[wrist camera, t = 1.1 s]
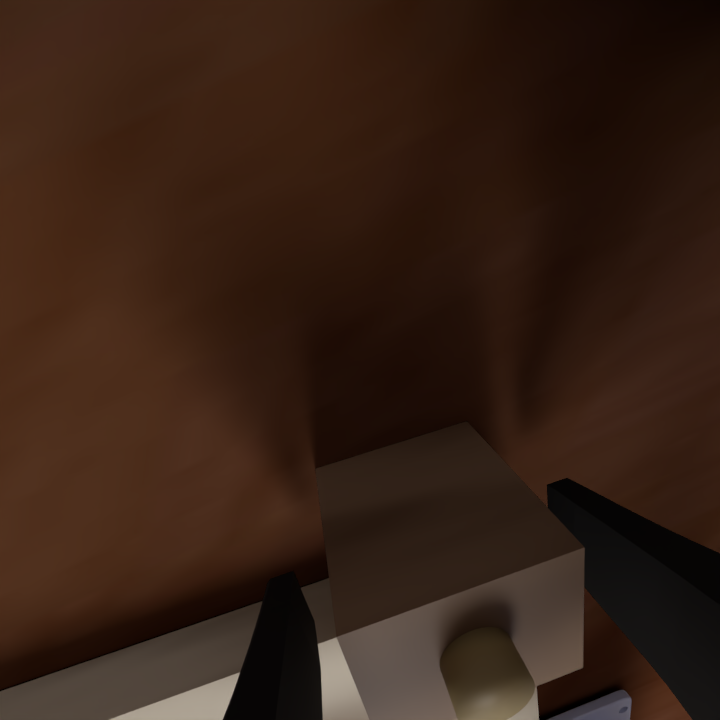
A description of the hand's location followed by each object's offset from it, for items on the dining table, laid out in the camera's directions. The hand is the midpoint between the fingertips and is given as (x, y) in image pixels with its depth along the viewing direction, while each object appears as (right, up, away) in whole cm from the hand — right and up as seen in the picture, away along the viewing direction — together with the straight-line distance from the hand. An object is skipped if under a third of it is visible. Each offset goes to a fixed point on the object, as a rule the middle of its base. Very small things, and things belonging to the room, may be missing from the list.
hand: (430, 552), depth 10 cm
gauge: (0, -3, +4) cm, 5 cm away
